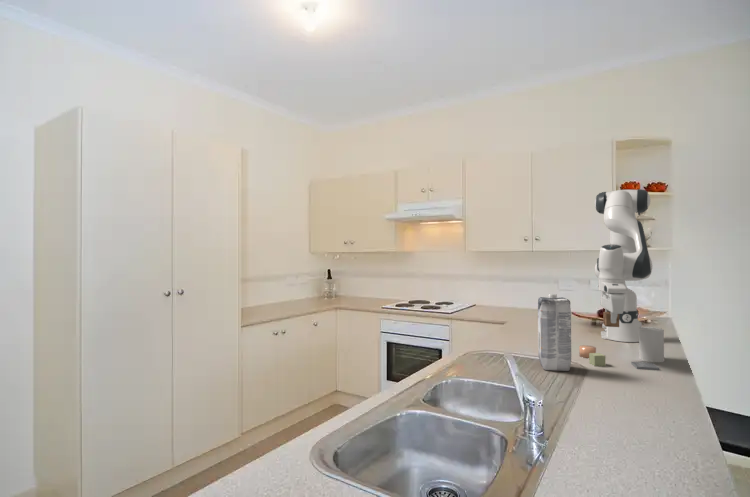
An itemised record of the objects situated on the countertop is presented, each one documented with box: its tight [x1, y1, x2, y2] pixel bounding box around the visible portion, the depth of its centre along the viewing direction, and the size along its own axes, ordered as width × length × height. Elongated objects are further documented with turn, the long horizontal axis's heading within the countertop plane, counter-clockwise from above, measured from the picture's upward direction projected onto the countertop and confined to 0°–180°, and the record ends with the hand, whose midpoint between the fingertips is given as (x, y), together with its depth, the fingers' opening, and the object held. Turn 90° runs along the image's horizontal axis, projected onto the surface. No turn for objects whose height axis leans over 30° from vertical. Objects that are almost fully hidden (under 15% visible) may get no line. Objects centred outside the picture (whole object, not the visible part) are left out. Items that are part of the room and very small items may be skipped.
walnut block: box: [602, 311, 619, 327], centre depth 163 cm, size 4×4×5 cm
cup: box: [638, 326, 665, 363], centre depth 164 cm, size 8×8×12 cm
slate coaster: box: [630, 361, 660, 371], centre depth 154 cm, size 7×7×1 cm
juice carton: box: [537, 293, 572, 372], centre depth 153 cm, size 9×10×27 cm
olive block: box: [588, 352, 606, 367], centre depth 157 cm, size 4×4×4 cm
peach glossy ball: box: [578, 344, 597, 359], centre depth 169 cm, size 6×6×4 cm
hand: (611, 321), depth 163 cm, fingers closed on walnut block, 4 cm apart
